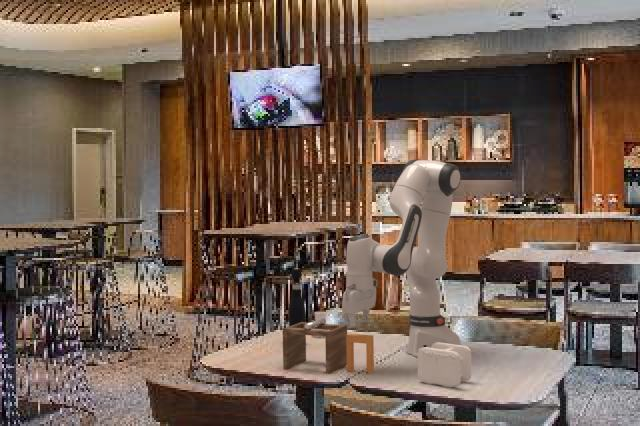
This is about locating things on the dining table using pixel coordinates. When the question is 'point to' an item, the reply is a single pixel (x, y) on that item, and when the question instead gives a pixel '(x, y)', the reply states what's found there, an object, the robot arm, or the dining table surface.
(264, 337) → the dining table surface
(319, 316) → the salt shaker
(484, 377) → the dining table surface
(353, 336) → the wooden u-shaped block
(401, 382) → the dining table surface
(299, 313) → the wine bottle
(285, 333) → the walnut shelf
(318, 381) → the dining table surface
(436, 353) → the cable organizer
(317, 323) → the hook rod
